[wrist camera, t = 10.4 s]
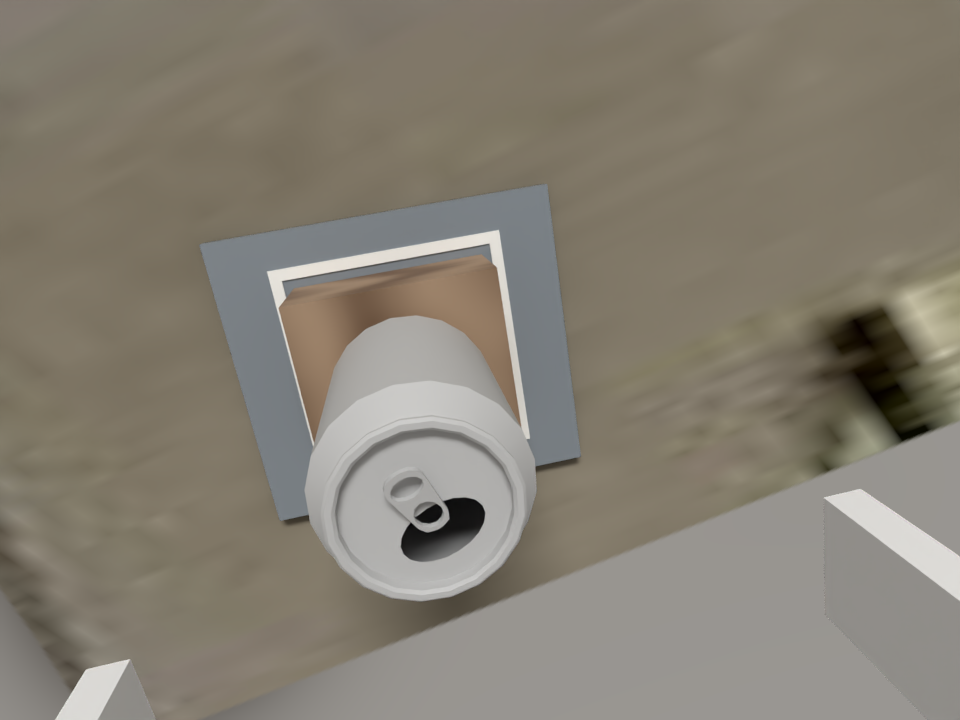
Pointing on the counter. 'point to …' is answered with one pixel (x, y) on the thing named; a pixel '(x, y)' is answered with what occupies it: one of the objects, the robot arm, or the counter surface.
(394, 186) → the counter surface
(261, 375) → the grey flat plate
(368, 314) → the walnut block
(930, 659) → the robot arm
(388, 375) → the can
